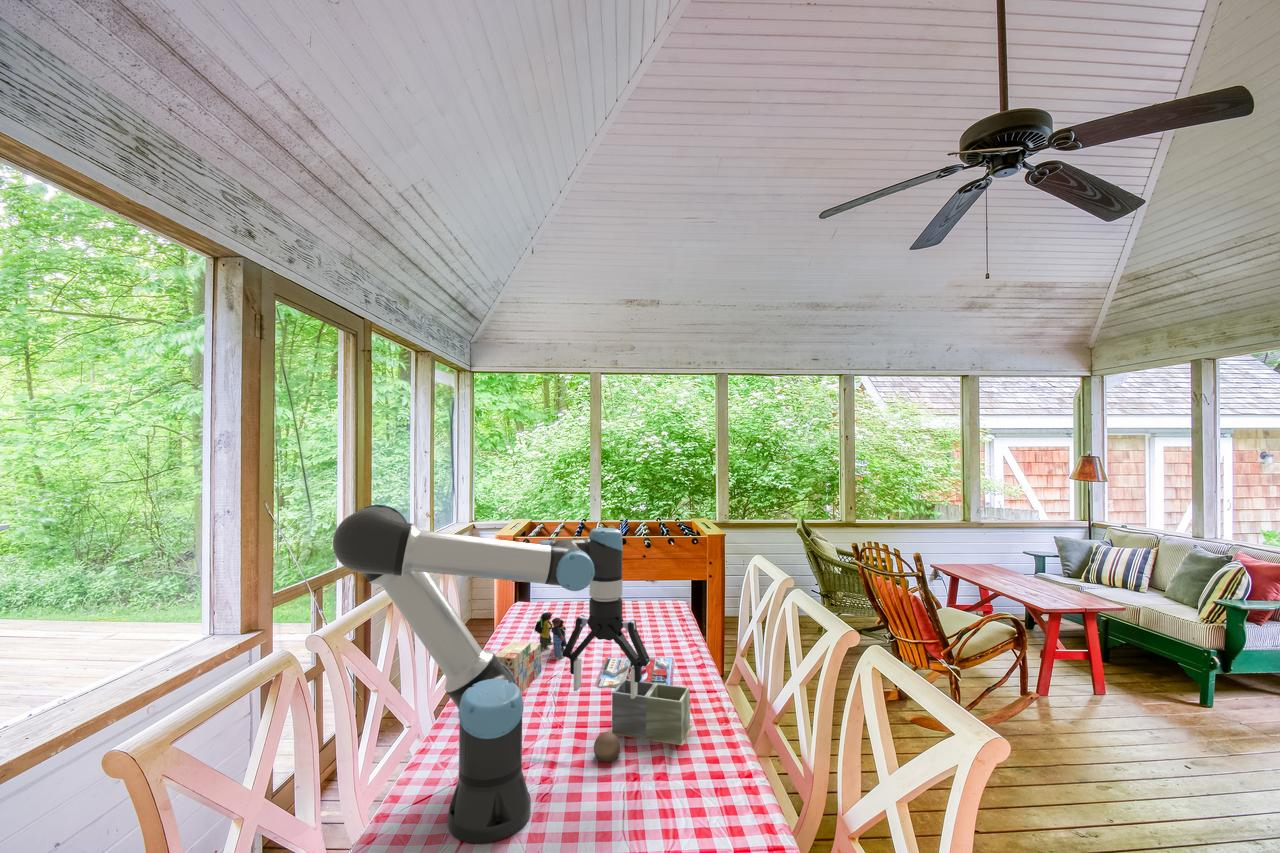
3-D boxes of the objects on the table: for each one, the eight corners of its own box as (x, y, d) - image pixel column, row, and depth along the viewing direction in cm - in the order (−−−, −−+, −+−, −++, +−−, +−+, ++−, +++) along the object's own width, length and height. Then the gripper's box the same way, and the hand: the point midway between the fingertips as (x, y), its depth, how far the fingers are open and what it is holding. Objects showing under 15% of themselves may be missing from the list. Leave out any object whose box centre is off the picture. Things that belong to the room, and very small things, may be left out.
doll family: (582, 656, 192) (582, 616, 192) (559, 663, 186) (560, 622, 186) (545, 639, 209) (545, 603, 210) (523, 645, 203) (524, 607, 204)
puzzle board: (605, 660, 190) (605, 652, 191) (674, 662, 189) (674, 654, 189) (590, 699, 160) (590, 689, 160) (671, 702, 158) (671, 692, 158)
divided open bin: (682, 749, 132) (682, 703, 132) (608, 737, 137) (609, 693, 138) (692, 729, 141) (692, 686, 142) (622, 719, 147) (622, 677, 147)
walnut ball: (615, 770, 123) (615, 742, 123) (589, 765, 125) (589, 738, 125) (624, 756, 129) (624, 729, 129) (599, 752, 131) (599, 725, 131)
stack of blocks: (522, 671, 179) (523, 631, 180) (541, 672, 178) (541, 633, 179) (492, 700, 158) (493, 655, 159) (514, 702, 157) (514, 657, 158)
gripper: (663, 597, 129) (662, 692, 128) (562, 589, 136) (561, 679, 135) (654, 605, 122) (654, 706, 121) (548, 597, 129) (547, 692, 128)
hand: (605, 692), depth 128 cm, fingers open, 13 cm apart
